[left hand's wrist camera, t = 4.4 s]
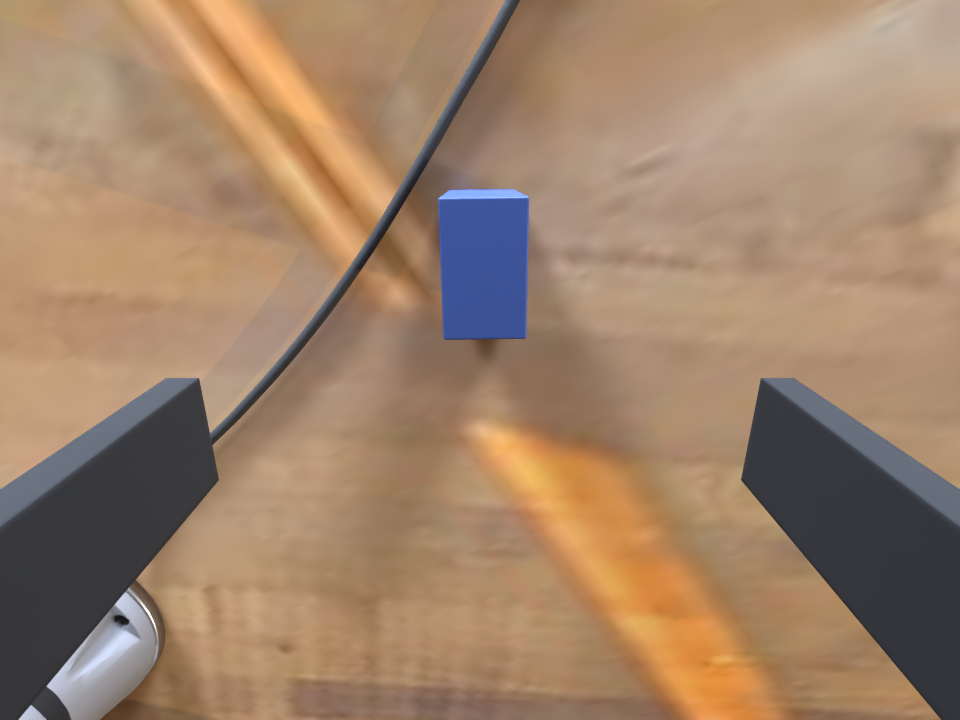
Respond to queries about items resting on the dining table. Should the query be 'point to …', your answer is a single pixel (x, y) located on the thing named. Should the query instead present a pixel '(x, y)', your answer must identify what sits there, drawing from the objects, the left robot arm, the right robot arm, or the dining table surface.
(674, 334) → the dining table surface
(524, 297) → the block
